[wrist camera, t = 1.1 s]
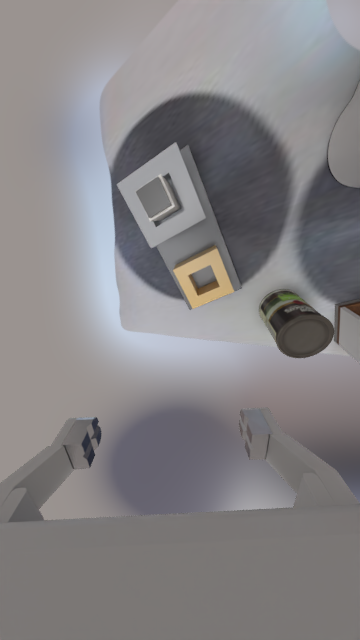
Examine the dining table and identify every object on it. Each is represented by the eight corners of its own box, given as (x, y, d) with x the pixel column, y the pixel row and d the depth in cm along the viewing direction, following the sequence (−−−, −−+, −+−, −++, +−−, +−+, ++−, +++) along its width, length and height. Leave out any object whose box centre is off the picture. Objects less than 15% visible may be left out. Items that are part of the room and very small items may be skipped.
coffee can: (263, 288, 48) (285, 313, 35) (306, 290, 47) (343, 316, 35) (254, 323, 53) (271, 356, 40) (293, 326, 52) (322, 360, 40)
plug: (170, 184, 31) (158, 171, 22) (181, 208, 32) (173, 205, 23) (150, 197, 32) (131, 190, 23) (162, 220, 33) (148, 221, 25)
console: (188, 148, 36) (182, 113, 24) (240, 285, 48) (254, 309, 36) (129, 189, 40) (97, 177, 28) (190, 306, 52) (187, 334, 40)
